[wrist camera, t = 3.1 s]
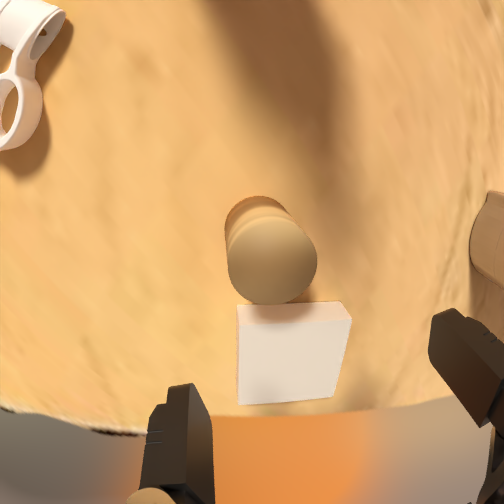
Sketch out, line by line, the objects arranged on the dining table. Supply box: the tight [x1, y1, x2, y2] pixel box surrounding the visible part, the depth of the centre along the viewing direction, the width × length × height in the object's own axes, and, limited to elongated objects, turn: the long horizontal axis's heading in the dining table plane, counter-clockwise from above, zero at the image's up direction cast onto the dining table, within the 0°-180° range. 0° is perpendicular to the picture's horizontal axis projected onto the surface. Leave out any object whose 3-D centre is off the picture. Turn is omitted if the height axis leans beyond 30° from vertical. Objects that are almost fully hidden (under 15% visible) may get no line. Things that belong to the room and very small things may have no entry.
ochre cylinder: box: [225, 196, 317, 305], centre depth 21 cm, size 5×5×7 cm
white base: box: [236, 301, 352, 405], centre depth 27 cm, size 9×9×3 cm
